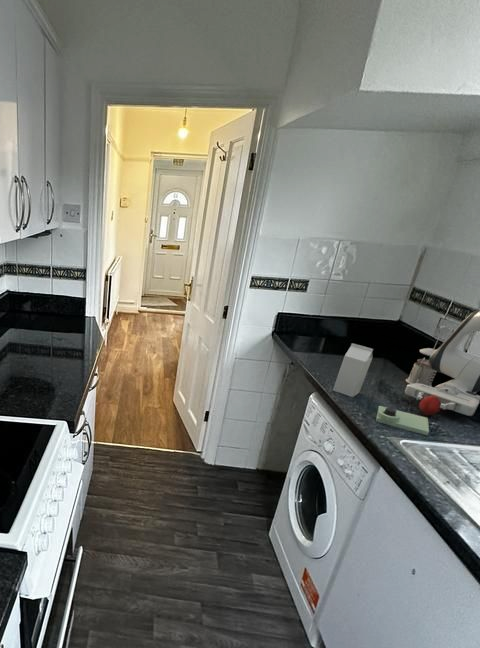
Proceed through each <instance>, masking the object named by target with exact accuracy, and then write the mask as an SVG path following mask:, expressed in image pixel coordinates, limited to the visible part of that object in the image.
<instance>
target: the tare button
mask: <svg viewBox="0 0 480 648" xmlns="http://www.w3.org/2000/svg"><path fill="white" fill-rule="evenodd" d="M396 410H397V409H394V408H391V407H386V409H385V412H384V414H386V415H389V416H395V414H396Z"/></svg>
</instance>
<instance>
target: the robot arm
mask: <svg viewBox="0 0 480 648" xmlns="http://www.w3.org/2000/svg"><path fill="white" fill-rule="evenodd" d="M474 332H480V309H476V310H474V311H473V312H471V313H470V314H469V315H467V316H466V317H465V318H464V319H463V320H462V321H461V323H460V324H459V325H458V326H457V327H456V328H455V329H454V330H453V331H452V333H451V334H450V335H449V336H448V337H447V339H445V341H444V342H443V343H442V344H441V345H440V346H439V347H437V349H435V350H436V351H434V352H433V354H432V355H431V356H429V358H430V359H429V358H428V360H429V364H430V366H431V368H432V370H435V371H437V372H438V373H441V374H443V375H446V376H448V377H450V378H452V379H450V380H447V381H445V382H443V383H440V384H438V385H435V386H434V387H433V386H432V387H430V386H427V385H424V384H420V383H414V384H410V383H408V384H407V385H406V387H405V390H404V394H405V395H406V396H409V397H412V398H414V399H415V398H416V399H415V400H416V401H418V402H421V400H422V399H424V398H426V397H429V396H432V395H436V396H437V398H438V399H439V400H440V402H441V405H440V407H439V408H441V409H440V410H443V411H444V410H450V411H453V412H455V413H459V414H461V415H464V416H468V417H472V416H474V414H475V413H476V411H477V408H478V407H479V404H480V395H479V394H477V393H479V392H480V357H478V356H476V355H474V354H471V353H469V352H466V351H463V350H461V349H460V345H461V344H462V343H463V342H464V341H465V340H466V339H467V338H468V337H469V336H470V335H471V334H472V333H474Z"/></svg>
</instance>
